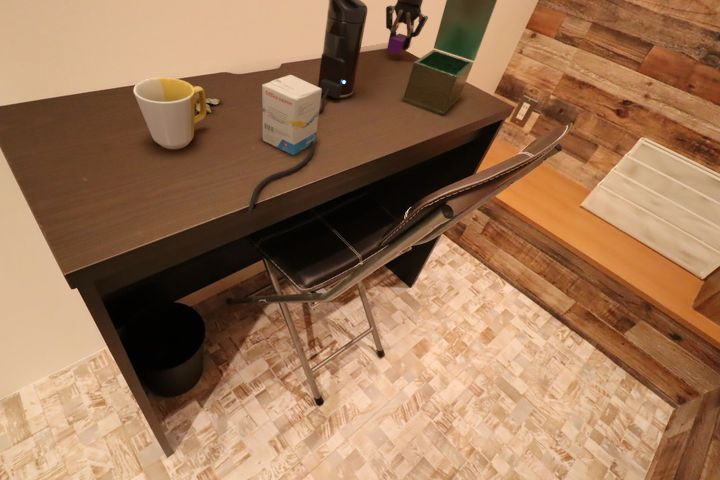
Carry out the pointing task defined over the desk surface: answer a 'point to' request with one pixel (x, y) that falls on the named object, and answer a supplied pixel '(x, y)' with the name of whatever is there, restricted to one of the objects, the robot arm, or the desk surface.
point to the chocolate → (396, 43)
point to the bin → (437, 81)
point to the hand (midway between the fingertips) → (398, 47)
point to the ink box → (290, 113)
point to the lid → (464, 26)
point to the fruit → (208, 100)
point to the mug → (170, 109)
